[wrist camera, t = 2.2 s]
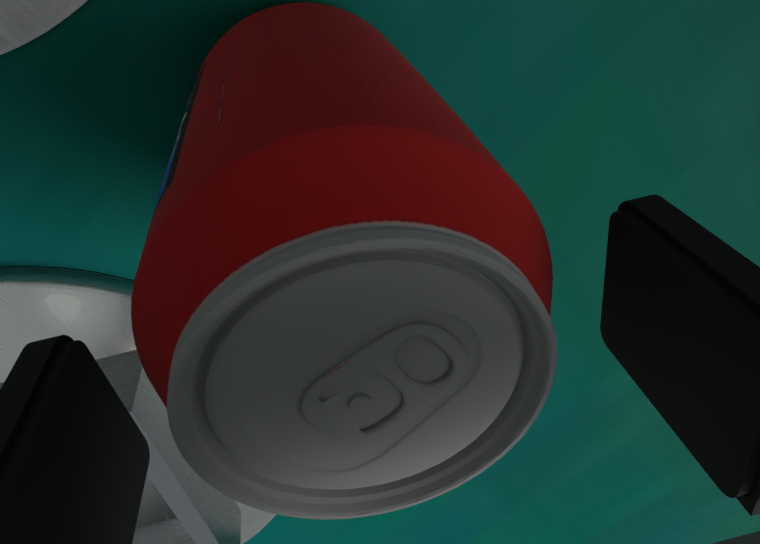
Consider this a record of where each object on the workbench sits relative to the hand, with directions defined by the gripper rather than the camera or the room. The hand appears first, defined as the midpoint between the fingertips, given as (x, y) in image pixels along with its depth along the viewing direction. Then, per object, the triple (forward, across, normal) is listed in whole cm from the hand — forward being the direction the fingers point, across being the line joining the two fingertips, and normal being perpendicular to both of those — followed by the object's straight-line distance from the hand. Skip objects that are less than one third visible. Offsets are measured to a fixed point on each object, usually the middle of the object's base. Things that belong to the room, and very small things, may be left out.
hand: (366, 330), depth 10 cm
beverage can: (+10, 0, -1) cm, 10 cm away
